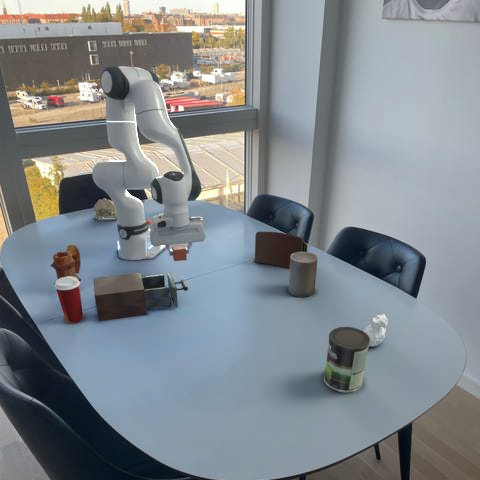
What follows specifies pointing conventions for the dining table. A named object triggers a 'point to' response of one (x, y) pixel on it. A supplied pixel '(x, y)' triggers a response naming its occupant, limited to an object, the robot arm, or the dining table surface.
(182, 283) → the drawer
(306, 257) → the pillar candle
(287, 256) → the letter holder
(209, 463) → the dining table surface
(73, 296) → the paper cup
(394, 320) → the dining table surface
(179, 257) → the block
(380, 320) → the bust
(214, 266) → the dining table surface
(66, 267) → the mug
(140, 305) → the cabinet
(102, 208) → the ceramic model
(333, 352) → the coffee can
